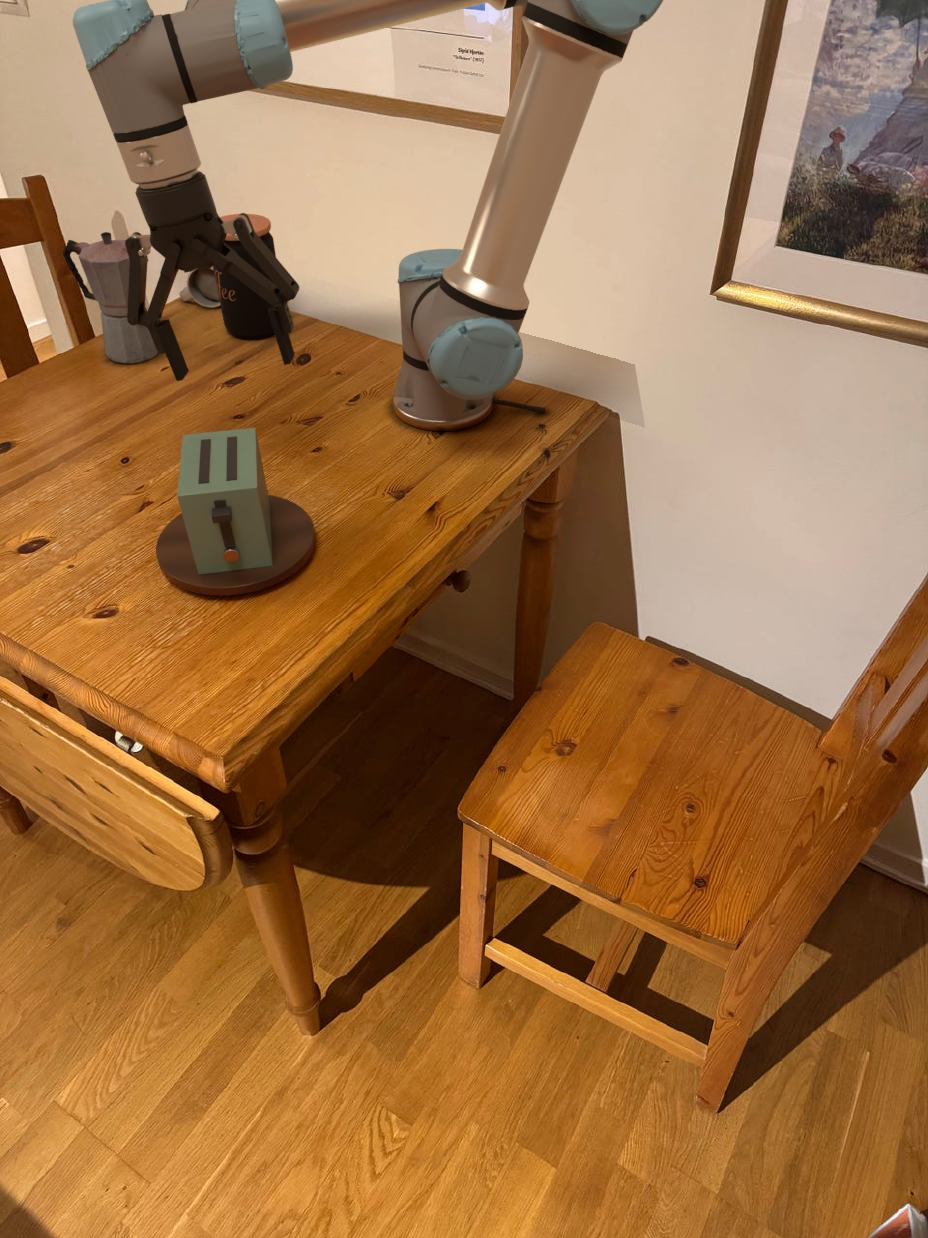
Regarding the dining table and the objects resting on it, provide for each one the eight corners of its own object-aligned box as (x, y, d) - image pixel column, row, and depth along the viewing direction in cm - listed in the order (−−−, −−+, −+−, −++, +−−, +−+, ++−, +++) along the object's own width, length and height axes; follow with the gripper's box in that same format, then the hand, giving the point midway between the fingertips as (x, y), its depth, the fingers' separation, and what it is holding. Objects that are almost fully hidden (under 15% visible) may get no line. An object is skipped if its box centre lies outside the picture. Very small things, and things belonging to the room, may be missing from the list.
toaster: (163, 509, 111) (138, 424, 103) (310, 493, 114) (298, 409, 106) (152, 605, 98) (123, 516, 89) (320, 584, 100) (307, 496, 92)
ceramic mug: (242, 291, 167) (234, 250, 162) (231, 308, 161) (222, 266, 156) (188, 291, 167) (178, 250, 162) (175, 308, 161) (165, 266, 156)
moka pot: (160, 369, 143) (127, 245, 129) (75, 361, 145) (35, 238, 132) (185, 344, 150) (156, 224, 136) (103, 337, 152) (68, 218, 138)
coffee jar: (224, 319, 157) (204, 216, 145) (283, 313, 159) (268, 210, 147) (227, 344, 150) (205, 237, 138) (288, 338, 152) (273, 231, 139)
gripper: (44, 207, 89) (129, 396, 103) (273, 165, 86) (330, 365, 99) (72, 188, 95) (149, 369, 109) (288, 148, 92) (340, 340, 105)
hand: (235, 368), depth 104 cm, fingers open, 13 cm apart
